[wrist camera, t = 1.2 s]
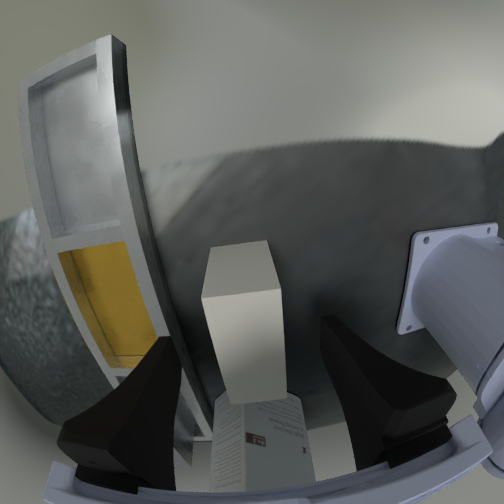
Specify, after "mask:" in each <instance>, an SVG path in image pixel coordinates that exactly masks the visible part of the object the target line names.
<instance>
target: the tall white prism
mask: <svg viewBox="0 0 504 504" xmlns="http://www.w3.org/2000/svg"><path fill="white" fill-rule="evenodd" d="M201 300H202V304H203V308H204V312H205V316H206V320H207V323H208V327H209V331H210V335H211V339H212V342H213V346H214V349H215V353H216V357H217V360H218V364H219V367H220V370H221V374H222V377H223V381H224V384H225V387H226V391H227V394H228V397H229V400H230V403H231V405H232V404H243V403H253V402H262V401H270V400H277V399H284V398H287V383H286V363H285V344H284V328H283V312H282V297H281V287H280V284H279V280H278V277H277V274H276V270H275V267H274V263H273V260H272V257H271V253H270V250H269V247H268V243H267V240H266V241H259V242H251V243H243V244H235V245H227V246H220V247H212V248H211V249H210V254H209V259H208V264H207V269H206V275H205V280H204V285H203V291H202V296H201Z"/></svg>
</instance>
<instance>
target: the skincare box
mask: <svg viewBox="0 0 504 504" xmlns="http://www.w3.org/2000/svg"><path fill="white" fill-rule="evenodd" d="M313 482H316V480H315V474H314V469H313V463H312V458H311V452H310V447H309V442H308V436H307V430H306V425H305V420H304V415H303V410H302V404H301V400H300V399H299V398H298V397H297V396H295V395H292V394H290V393H288V392H287V398H284V399H277V400H270V401H262V402H253V403H243V404H232V405H231V403H230V400H229V397H228V394H227V391H225V392H224V393H222V394H221V395H220V396H219V397H218V398H217V399H216V400H215V407H214V423H213V437H212V451H211V471H210V489H209V493H223V492H246V491H259V490H269V489H277V488H284V487H291V486H297V485H303V484H308V483H313Z"/></svg>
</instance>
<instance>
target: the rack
mask: <svg viewBox="0 0 504 504" xmlns="http://www.w3.org/2000/svg"><path fill="white" fill-rule="evenodd" d="M18 103H19V122H20V134H21V143H22V150H23V158H24V164H25V170H26V176H27V181H28V186H29V191H30V195H31V200H32V204H33V208H34V212H35V216H36V219H37V223H38V227H39V230H40V233H41V237H42V240H43V243H44V246H45V249H46V252H47V255H48V258H49V261H50V263H51V266H52V269H53V271H54V275H55V277H56V280H57V282H58V285H59V287H60V290H61V292H62V294H63V297H64V299H65V301H66V303H67V306H68V308H69V310H70V312H71V314H72V316H73V318H74V320H75V322H76V324H77V326H78V328H79V330H80V332H81V334H82V336H83V338H84V340H85V342H86V344H87V345H88V347H89V349H90V351H91V353H92V354H93V356H94V357H95V359H96V361H97V362H98V364H99V366H100V367H101V369H102V371H103V372H104V374H105V375H106V377H107V379H108V380H109V382H110V383H111V385H112V386H113V388H114V389H115V388H116V387H117V386H118V385H119V384H120V383H121V382H122V381H123V380H124V379H125V378H126V377H127V376H128V375H129V374H130V373H131V371H132V370H133V369H134V368H135V367H136V366H137V365H138V363H139V362H140V361H141V359H142V358H143V357H144V356H145V354H146V353H147V352H148V350H149V349H150V348H151V347H152V345H153V344H154V343H155V341H156V340H157V339H158V338H159V337H160V336H171V337H172V340H173V343H174V345H175V348H176V351H177V353H178V356H179V358H180V361H181V363H182V378H181V387H180V393H179V399H178V404H177V410H176V416H175V423H174V468H192V455H193V441H200V440H212V437H213V423H214V416H213V413H212V411H211V409H210V406H209V404H208V402H207V399H206V397H205V394H204V392H203V389H202V387H201V384H200V382H199V379H198V377H197V374H196V371H195V369H194V366H193V363H192V361H191V358H190V355H189V352H188V349H187V347H186V344H185V341H184V338H183V335H182V332H181V329H180V326H179V323H178V320H177V317H176V314H175V311H174V307H173V304H172V301H171V298H170V294H169V291H168V287H167V284H166V280H165V277H164V273H163V270H162V266H161V262H160V258H159V255H158V251H157V247H156V243H155V239H154V235H153V230H152V226H151V222H150V217H149V213H148V208H147V204H146V199H145V194H144V189H143V184H142V178H141V173H140V167H139V161H138V156H137V149H136V143H135V136H134V129H133V121H132V113H131V104H130V95H129V85H128V74H127V57H126V45H125V44H124V43H123V42H121V41H120V40H119V39H117V38H116V37H115V36H113V35H112V34H110V35H108V36H105V37H102V38H100V39H97V40H95V41H93V42H91V43H88V44H86V45H84V46H81V47H79V48H77V49H75V50H73V51H71V52H69V53H67V54H65V55H63V56H61V57H59V58H57V59H55V60H53V61H51V62H50V63H48V64H46V65H44V66H42V67H41V68H39V69H37V70H36V71H34V72H33V73H31V74H29V75H28V76H26V77H25V78H23V79H21V80H20V81H19V82H18Z"/></svg>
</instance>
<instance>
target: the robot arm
mask: <svg viewBox="0 0 504 504" xmlns="http://www.w3.org/2000/svg"><path fill="white" fill-rule="evenodd" d="M497 232H498V224H497V223H495V222H490V223H482V224H474V225H467V226H459V227H452V228H444V229H436V230H429V231H421V232H417V233H415V234H414V236H413V237H412V242H411V250H410V258H409V265H408V272H407V278H406V284H405V289H404V295H403V300H402V305H401V310H400V314H399V319H398V323H397V327H396V331H397V332H398V334H400V335H401V334H405V333H408V332H412V331H415V330H418V329H421V328H424V327H425V328H426V329H427V330H428V331H429V333H430V334H431V335H432V336H433V338H434V339H435V340H436V341H437V343H438V344H439V345H440V347H441V348H442V349H443V350H444V352H445V353H446V354H447V356H448V357H449V358H450V360H451V361H452V362H453V364H454V365H455V366H456V368H457V369H458V370H459V372H460V373H461V374H462V376H463V377H464V379H465V380H466V381H467V383H468V384H469V386H470V387H471V388H472V390H473V392H474V393H475V394H476V395H477V401H476V402H475V404H474V405H473V408H474V409H475V411H476V412H477V414H478V416H479V419H478V421H476V420H475V418H474V417H473V415H469V416H467V417H466V418H464V419H463V420H461V421H459V422H457V423H456V424H454V425H453V426H452V427H450V428H448V426H447V425H446V424H447V423H448V419H447V417H446V414H447V413H448V411H449V410H450V408H451V407H452V405H453V404H454V402H455V400H456V396H457V394H456V392H455V391H454V389H453V388H452V386H451V385H450V383H449V382H448V381H447V379H444V378H440V377H436V376H432V375H428V374H425V373H422V372H419V371H416V370H414V369H411V368H409V367H407V366H404V365H402V364H400V363H398V362H396V361H394V360H392V359H390V358H389V357H387V356H385V355H384V354H382V353H380V352H379V351H377V350H376V349H374V348H373V347H372V346H370V345H369V344H367V343H366V342H365V341H364V340H362V339H361V338H360V337H359V336H357V335H356V334H355V333H354V332H353V331H351V330H350V329H349V328H348V327H347V326H346V325H345V324H344V323H342V322H341V321H340V320H339V319H338V318H337V317H336V316H335V315H331V316H325V317H322V321H321V342H320V349H321V353H322V357H323V360H324V364H325V366H326V369H327V371H328V374H329V376H330V378H331V381H332V383H333V385H334V388H335V390H336V392H337V395H338V397H339V400H340V402H341V405H342V408H343V412H344V415H345V419H346V422H347V426H348V430H349V434H350V438H351V443H352V448H353V453H354V458H355V463H356V469H357V471H356V472H353V473H350V474H346V475H343V476H339V477H335V478H331V479H327V480H322V481H318V482H313V483H308V484H303V485H297V486H291V487H284V488H277V489H269V490H259V491H246V492H223V493H205V492H181V491H176V486H175V475H174V423H175V416H176V410H177V404H178V399H179V393H180V387H181V378H182V363H181V361H180V358H179V356H178V353H177V351H176V348H175V345H174V343H173V340H172V337H171V336H160V337H159V338H158V339H157V340H156V341H155V343H154V344H153V345H152V347H151V348H150V349H149V350H148V352H147V353H146V354H145V356H144V357H143V358H142V359H141V361H140V362H139V363H138V365H137V366H136V367H135V368H134V369H133V370H132V371H131V373H130V374H129V375H128V376H127V377H126V378H125V379H124V380H123V381H122V382H121V383H120V384H119V385H118V386H117V387H116V388H115V389H114V390H113V391H112V392H111V393H109V394H108V395H107V396H106V397H104V398H103V399H102V400H101V401H99V402H98V403H97V404H95V405H94V406H92V407H91V408H89V409H88V410H86V411H84V412H83V413H81V414H79V415H77V416H75V417H73V418H71V419H69V420H67V421H65V422H64V424H63V427H62V429H61V432H60V434H59V437H58V440H57V445H58V447H59V448H60V449H61V450H62V451H63V452H64V453H65V454H66V455H67V456H69V457H70V458H71V459H72V460H74V461H75V462H76V463H78V466H77V469H76V468H74V467H72V466H69V465H66V464H63V463H61V462H58V461H53V464H52V467H51V470H50V474H49V477H48V480H47V484H46V488H45V492H44V495H43V500H44V501H46V502H48V503H50V504H415V503H417V502H419V501H421V500H423V499H425V498H427V497H429V496H431V495H432V494H434V493H436V492H438V491H440V490H441V489H443V488H445V487H447V486H448V485H450V484H451V483H453V482H455V481H456V480H458V479H460V478H461V477H463V476H464V475H466V474H467V473H468V472H470V471H471V470H472V469H474V468H475V467H476V466H477V465H478V464H480V463H481V464H482V465H483V467H484V468H485V469H486V470H487V471H488V472H489V473H490V474H492V475H493V476H495V477H497V478H501V479H504V240H503V239H501V238H499V237H498V236H497ZM425 237H426V240H425V241H424V238H425ZM423 241H424V242H423Z"/></svg>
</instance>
